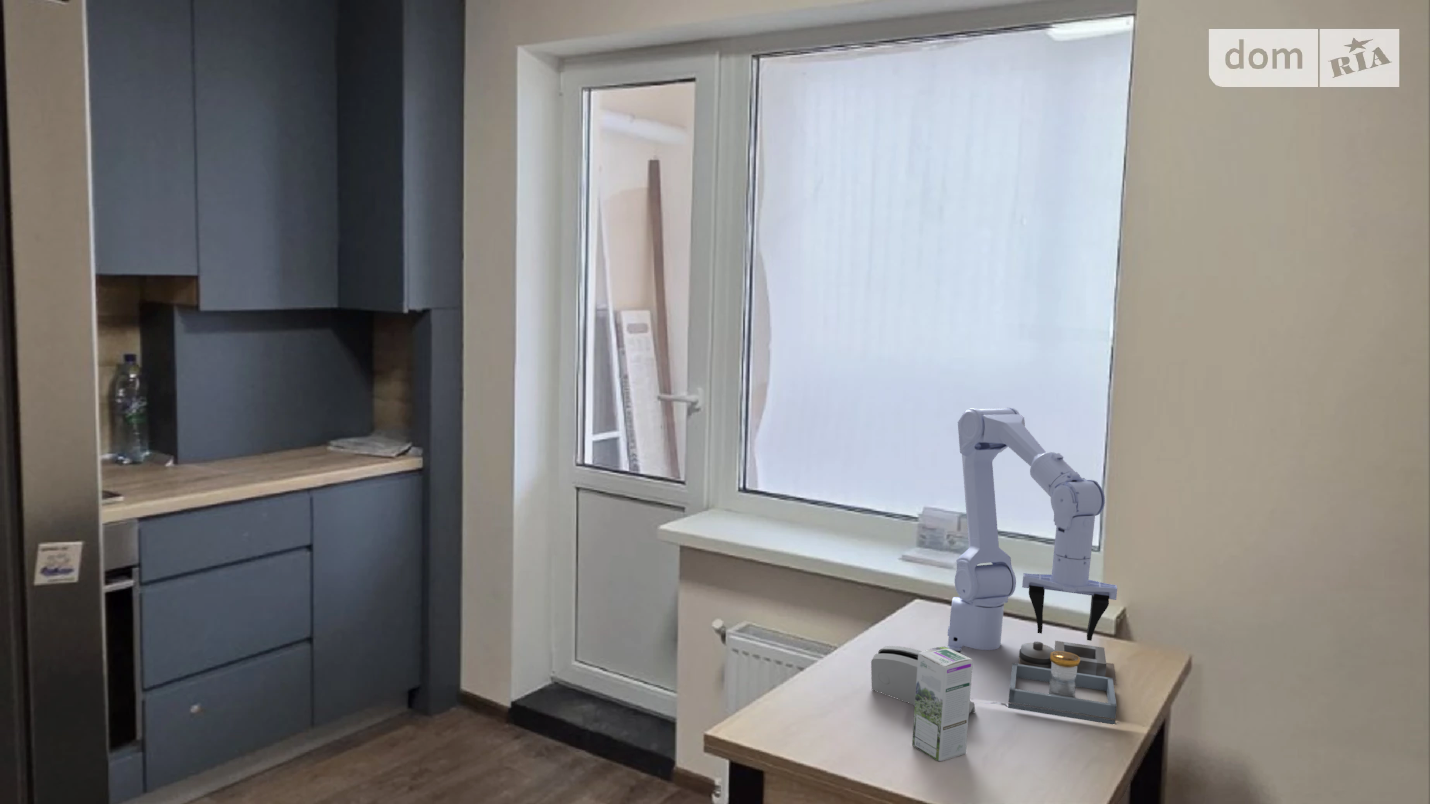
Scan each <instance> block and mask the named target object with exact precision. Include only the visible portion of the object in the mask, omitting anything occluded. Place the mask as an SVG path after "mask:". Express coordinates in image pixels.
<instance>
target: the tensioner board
mask: <svg viewBox="0 0 1430 804" xmlns="http://www.w3.org/2000/svg"><path fill="white" fill-rule="evenodd" d="M1055 651H1064V652H1070V653H1073V654H1075V655H1077V656H1079V657H1080V664H1079V665H1078V666H1077V673H1082V674H1089V675H1096V676H1102V677H1109V678H1113V685H1114V686H1117V685H1118V684H1117V676H1116V671H1115V663H1111V662H1107V659H1106V651H1105V647H1103V646H1095V645H1089V644H1082V643H1073V642H1068V641H1061V640H1055V641H1054V648H1052V647H1051V646H1049V645H1046V644H1044V643H1043V642H1041V641H1034V642H1027V643H1023V644H1021V646H1020V649H1019V651H1018V653H1019V654H1018V663H1017V664H1022V665H1028V666H1035V667H1042V668H1049V669H1051V661H1050V654H1051V653H1052V652H1055Z"/></svg>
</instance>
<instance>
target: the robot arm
mask: <svg viewBox="0 0 1430 804" xmlns="http://www.w3.org/2000/svg"><path fill="white" fill-rule="evenodd" d="M1025 423H1026V421H1025V417H1024V416H1023V415H1021V414H1020V413H1019V410H1017V409H1016V408H1014V407H1005V408H974V407H971V408H967V409H966V410H965V411H964V412H963V413H962V415H961V416H960V418H959V420H958V421H957V429H958V430H957V431H958V432H957V433H958V443H959V444H958V445H959V452H960V454H961V460H962V461H961V462H962V471H963V475H962V476H963V487H964V502H965V511H966V512H965V513H966V524H967V525H966V526H967V528H966V529H967V538H968V539H967V540H968V548H967V549H966V550H965V551H964V552H963V553H962V554H961V555H959V556H958V558H957V559H956V562H955V563H956V571H955V574H954V575H955V576H954V588H955V591H956V593H957V595H958V596H953V597H952V600H951V607H950V616H949V617H950V618H949V626H948V628H947V637H948V641H947V642H948V643H947V648H949V649H952V650H954V651H956V652H962V647H967V648H971V649H975V650H981V651H991V650H992V651H994V650H996V649H999V648H1001V642H1002V631H1003V620H1004V608H1005V604H1007V603H1008V602H1009V601H1008V600H1009V598H1010V597H1012V595H1014V593H1015V590H1016V587H1017V577H1016V575H1015V572H1014V570H1013V569H1014V568H1013V565H1012V558H1011V556H1010V555H1009V554H1008V553H1007V552H1005V551H1004V550H1003V549H1002V548H1001V547H1000V545H999V532H998V531H999V530H998V520H997V506H996V494H995V493H996V490H995V481H994V480H995V479H994V469H993V468H994V467H993V462H994V459H996V457H997V456H998V454H999V453H1002V452H1004V451H1005V450H1006V449H1007V448H1009V449H1010V450H1011V451H1012V452H1014V453H1015V454H1016V455H1017V456H1019V458H1020V459H1022V461H1024V462H1025V463H1026V464H1027V465H1028V466H1029V467H1030V469H1029V474H1030V477H1031V478H1032V479H1033V480H1034V481H1035V482H1036V484H1037V485H1038V486H1039V487H1040V488H1041V489H1043V491H1044V492H1045V493H1046V495H1048V496H1049V497H1050V506H1051V508H1052V511H1053V522H1054V526H1056V527H1055V536H1054V546H1053V556H1052V566H1051V567H1052V568H1051V574H1047V573H1046V574H1045V573H1041V574H1040V573H1027V572H1026V573H1024V572H1023V575H1022V584H1021V585H1022V587H1021V588H1023V589H1028V596H1029V599H1030V601H1031V604H1032V607H1033V610H1034V615H1035V619H1036V624H1037V625H1036V626H1037V632H1036V633H1037V634H1041V635H1042V634H1043V624H1044V623H1043V620H1044V617H1043V616H1044V614H1043V613H1044V603H1045V591H1046V590H1047V591H1048V590H1049V591H1055V592H1062V593H1063V592H1064V593H1069V594H1071V593H1072V594H1077V595H1085V596H1087V595H1088V596H1091V597H1090V599H1091V600H1090V611H1089V612H1090V613H1089V619H1088V625H1087V630H1086V641H1090V642H1091V641H1092V639H1093V635H1094V633H1095V629H1096V627H1097V625H1098V623H1099V621H1100V620H1101V618H1102V616H1103V614H1104V613H1105V611H1106V610H1107V609H1108V607H1109V605H1110V600H1113V601H1116V600H1117V596H1118V585H1117V584H1110V583H1105V582H1102V581H1101V582H1100V581H1096V580H1093V579H1089V578H1090V571H1091V569H1090V567H1091V561H1092V550H1093V542H1094V541H1093V538H1094V529H1095V521H1096V520H1095V519H1096V516H1098V515H1100V514H1101V513H1102V512H1103V510H1104V508H1105V503H1106V499H1105V498H1106V497H1105V492H1104V490H1103V488H1102V487H1101V485H1100V484H1099V482H1098V480H1095V479H1087V478H1085V477H1082V476H1081V475H1080V474H1079V473H1078V472H1077V471H1076V470H1074V469H1073V468H1072V467H1071V466H1070V465H1069V464H1068V463H1067V462H1066V461H1065V460H1064V456H1063V455H1062V454H1061V453H1059V452H1058V453H1056V452H1054V451H1053V452H1052V451H1049V452H1048V451H1046V450H1045V449H1044V448H1043V446H1042V445H1041V444H1040V443H1039V442H1038V440H1036V438H1035V437H1034V436H1033V434H1032V433H1031V432H1030V431H1029V430H1028V429H1027V428H1026V424H1025ZM987 563H988V564H987ZM990 563H991V564H990ZM979 564H980V565H979Z"/></svg>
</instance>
